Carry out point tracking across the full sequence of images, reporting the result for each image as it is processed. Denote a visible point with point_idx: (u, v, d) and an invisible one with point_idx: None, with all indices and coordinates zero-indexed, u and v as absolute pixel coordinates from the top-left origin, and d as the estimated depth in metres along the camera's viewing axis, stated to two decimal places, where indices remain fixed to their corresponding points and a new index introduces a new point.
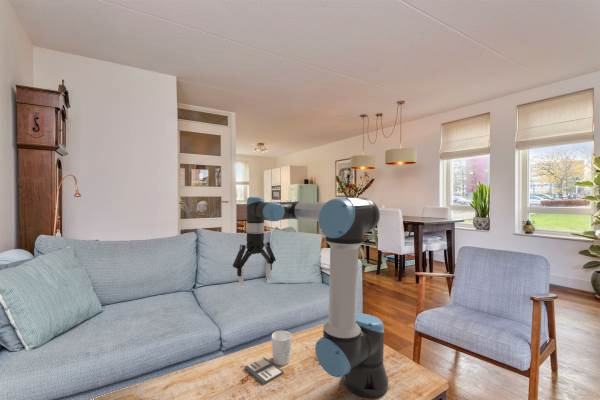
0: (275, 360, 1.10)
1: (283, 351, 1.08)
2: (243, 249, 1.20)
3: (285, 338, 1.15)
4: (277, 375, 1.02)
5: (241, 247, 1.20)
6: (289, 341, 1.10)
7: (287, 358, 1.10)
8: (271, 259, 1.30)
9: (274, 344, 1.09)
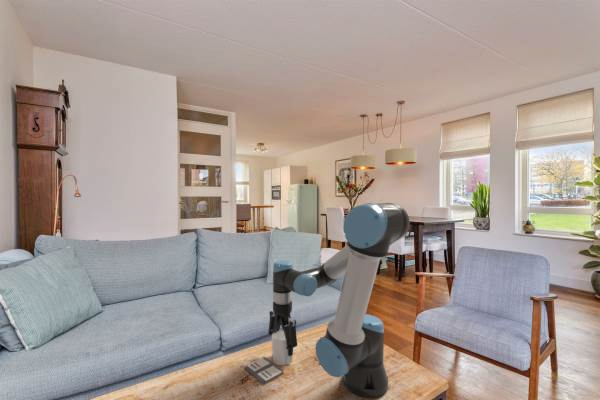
0: (275, 360, 1.10)
1: (283, 351, 1.09)
2: (270, 316, 1.16)
3: None
4: (277, 375, 1.02)
5: None
6: None
7: None
8: None
9: (274, 344, 1.09)
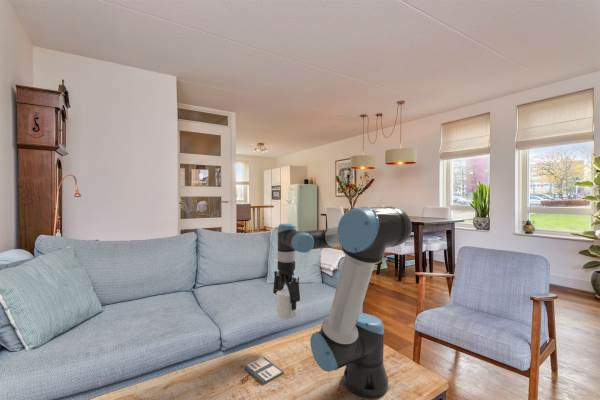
0: (279, 314, 1.18)
1: (287, 305, 1.17)
2: (275, 275, 1.24)
3: None
4: (277, 375, 1.02)
5: None
6: None
7: None
8: None
9: (279, 299, 1.18)
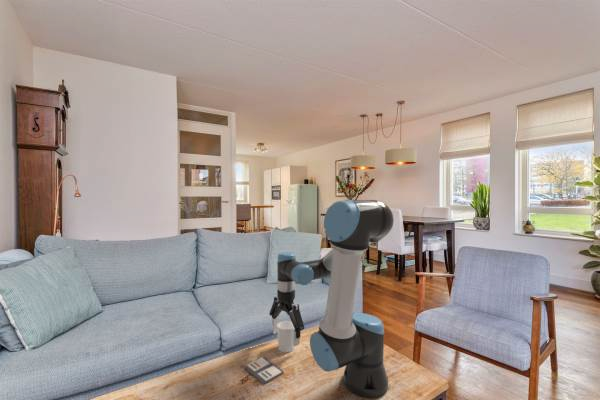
0: (280, 348, 1.18)
1: (288, 339, 1.17)
2: (274, 301, 1.25)
3: (289, 328, 1.24)
4: (277, 375, 1.02)
5: None
6: (293, 330, 1.19)
7: (292, 346, 1.19)
8: None
9: (280, 333, 1.18)
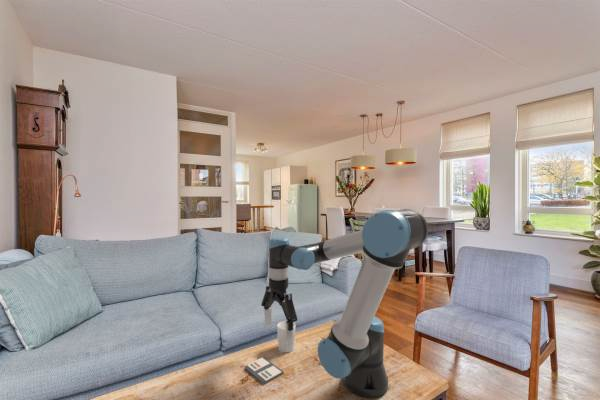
0: (280, 348, 1.18)
1: (288, 339, 1.17)
2: (266, 290, 1.15)
3: None
4: (277, 375, 1.02)
5: None
6: (293, 330, 1.19)
7: (292, 346, 1.19)
8: None
9: (280, 333, 1.18)
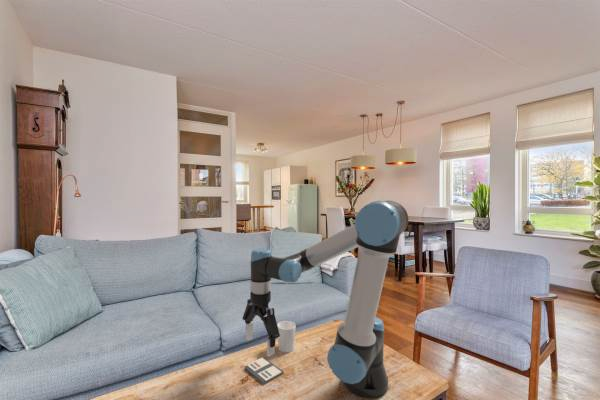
0: (280, 348, 1.18)
1: (288, 339, 1.17)
2: (247, 303, 1.10)
3: (289, 328, 1.24)
4: (277, 375, 1.02)
5: None
6: (293, 330, 1.19)
7: (292, 346, 1.19)
8: None
9: (280, 333, 1.18)
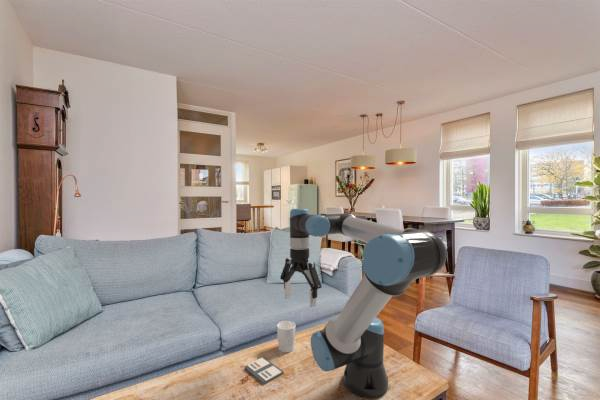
0: (280, 348, 1.18)
1: (288, 339, 1.17)
2: (286, 262, 1.16)
3: (289, 328, 1.24)
4: (277, 375, 1.02)
5: None
6: (293, 330, 1.19)
7: (292, 346, 1.19)
8: None
9: (279, 333, 1.18)
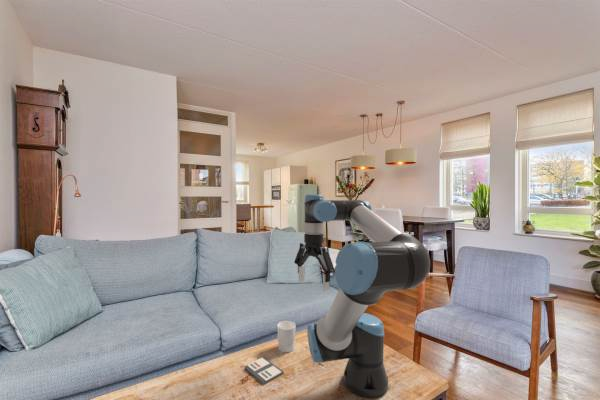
0: (280, 348, 1.18)
1: (288, 339, 1.17)
2: (300, 247, 1.18)
3: (290, 328, 1.24)
4: (277, 375, 1.02)
5: None
6: (293, 330, 1.19)
7: (292, 346, 1.19)
8: None
9: (280, 333, 1.18)
